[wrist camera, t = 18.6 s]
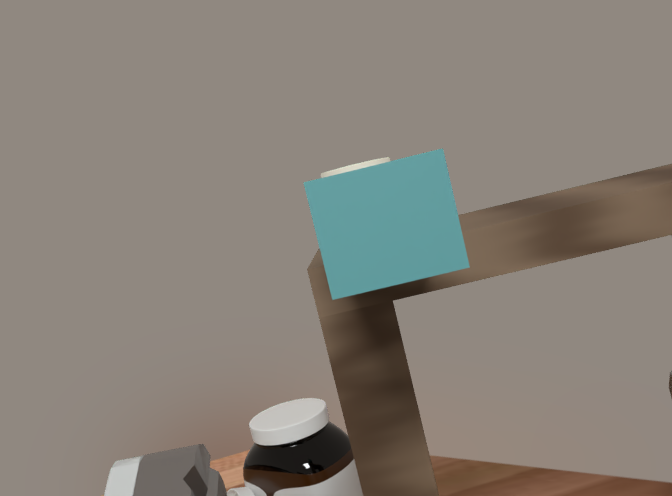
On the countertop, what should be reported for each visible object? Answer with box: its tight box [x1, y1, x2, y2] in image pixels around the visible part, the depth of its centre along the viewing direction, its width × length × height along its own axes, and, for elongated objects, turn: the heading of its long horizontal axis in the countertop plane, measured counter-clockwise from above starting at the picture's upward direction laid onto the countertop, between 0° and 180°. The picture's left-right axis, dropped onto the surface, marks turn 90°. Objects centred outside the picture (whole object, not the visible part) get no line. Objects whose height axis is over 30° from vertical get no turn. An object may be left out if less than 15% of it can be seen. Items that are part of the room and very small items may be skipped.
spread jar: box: [227, 398, 363, 496], centre depth 54 cm, size 12×11×12 cm
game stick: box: [304, 149, 470, 300], centre depth 26 cm, size 4×22×4 cm, turn 179°
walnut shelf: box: [307, 164, 672, 496], centre depth 31 cm, size 22×10×26 cm, turn 89°
